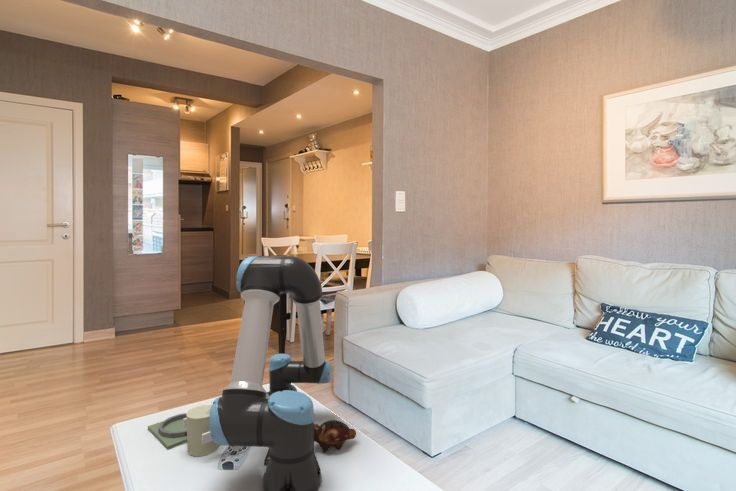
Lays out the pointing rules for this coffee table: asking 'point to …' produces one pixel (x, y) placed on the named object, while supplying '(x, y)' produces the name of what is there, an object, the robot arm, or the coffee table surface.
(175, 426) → the deck mount
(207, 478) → the coffee table surface
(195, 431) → the can
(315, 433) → the decorative turtle
